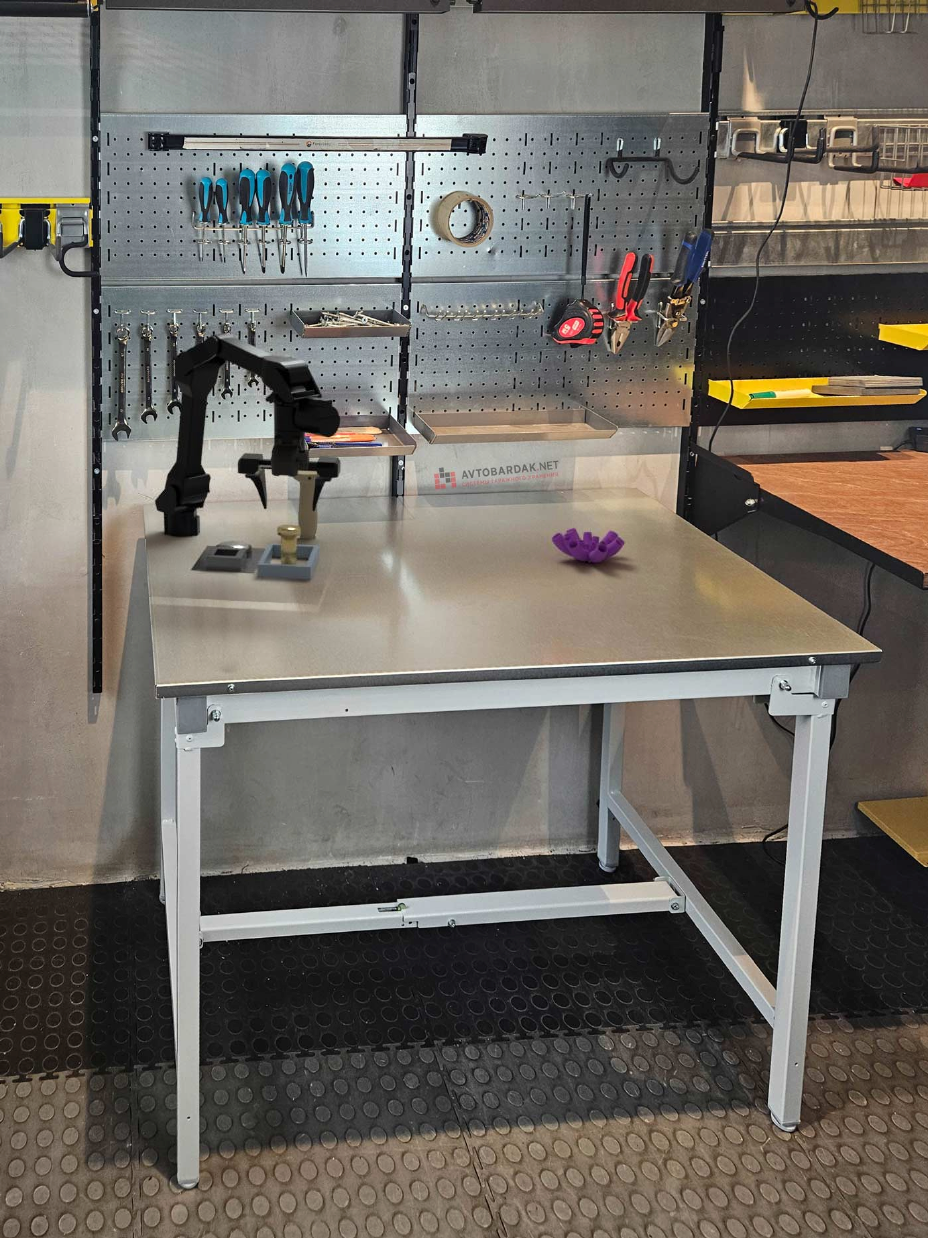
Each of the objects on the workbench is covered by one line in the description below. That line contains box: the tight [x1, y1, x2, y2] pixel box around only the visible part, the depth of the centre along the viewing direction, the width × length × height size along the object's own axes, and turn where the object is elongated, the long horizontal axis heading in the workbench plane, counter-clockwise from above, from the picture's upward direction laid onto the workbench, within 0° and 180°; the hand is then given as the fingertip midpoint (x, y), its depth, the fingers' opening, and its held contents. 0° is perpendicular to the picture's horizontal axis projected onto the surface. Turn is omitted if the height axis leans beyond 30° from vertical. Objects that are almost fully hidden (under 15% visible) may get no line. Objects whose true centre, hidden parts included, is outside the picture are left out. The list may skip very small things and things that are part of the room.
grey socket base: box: [190, 540, 266, 574], centre depth 255 cm, size 12×16×4 cm
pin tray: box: [256, 542, 320, 580], centre depth 253 cm, size 10×14×4 cm
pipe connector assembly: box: [551, 527, 626, 564], centre depth 268 cm, size 11×15×10 cm
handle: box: [292, 471, 319, 540], centre depth 270 cm, size 5×6×15 cm
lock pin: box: [276, 524, 301, 565], centre depth 251 cm, size 4×4×8 cm
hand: (289, 509), depth 249 cm, fingers open, 9 cm apart
